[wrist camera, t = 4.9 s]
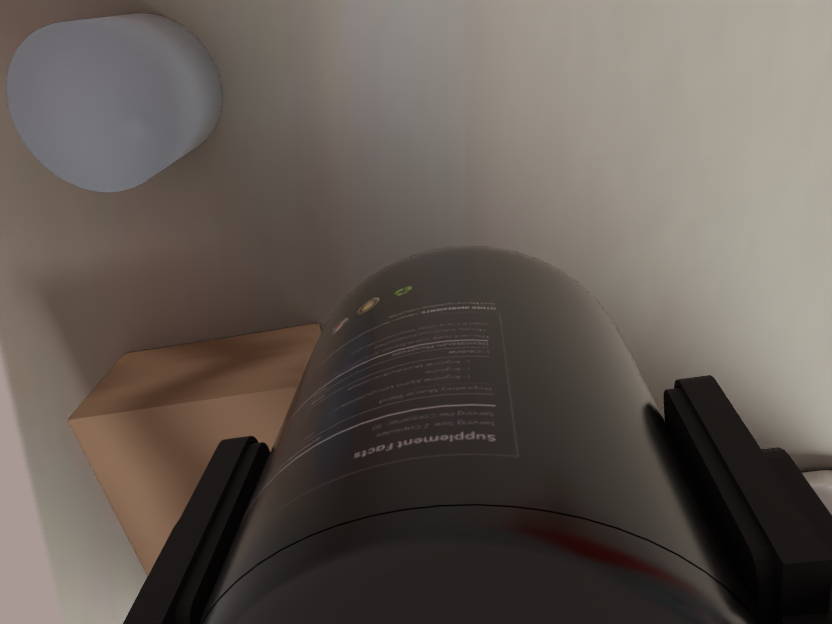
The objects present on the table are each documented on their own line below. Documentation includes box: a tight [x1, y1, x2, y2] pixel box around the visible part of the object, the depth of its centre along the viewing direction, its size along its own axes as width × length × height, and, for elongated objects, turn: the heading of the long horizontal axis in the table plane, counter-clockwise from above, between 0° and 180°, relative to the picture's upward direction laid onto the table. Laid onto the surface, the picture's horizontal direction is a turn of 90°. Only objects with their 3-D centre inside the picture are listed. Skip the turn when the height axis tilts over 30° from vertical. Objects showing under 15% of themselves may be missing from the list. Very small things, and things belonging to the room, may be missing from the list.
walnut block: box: [67, 323, 322, 576], centre depth 29 cm, size 9×9×5 cm
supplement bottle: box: [199, 246, 765, 624], centre depth 9 cm, size 7×7×12 cm
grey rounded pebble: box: [6, 13, 222, 192], centre depth 22 cm, size 5×5×5 cm
